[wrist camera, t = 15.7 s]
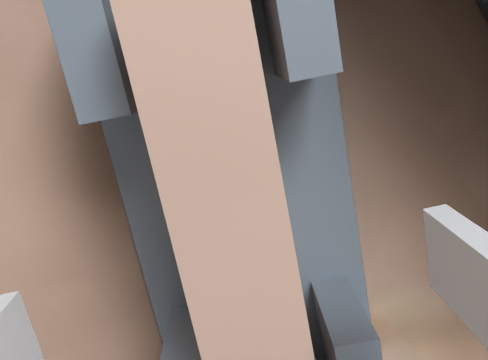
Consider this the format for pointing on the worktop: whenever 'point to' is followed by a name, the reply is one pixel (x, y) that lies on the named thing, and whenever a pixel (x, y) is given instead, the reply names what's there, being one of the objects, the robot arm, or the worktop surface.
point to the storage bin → (484, 7)
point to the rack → (289, 152)
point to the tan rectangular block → (217, 173)
